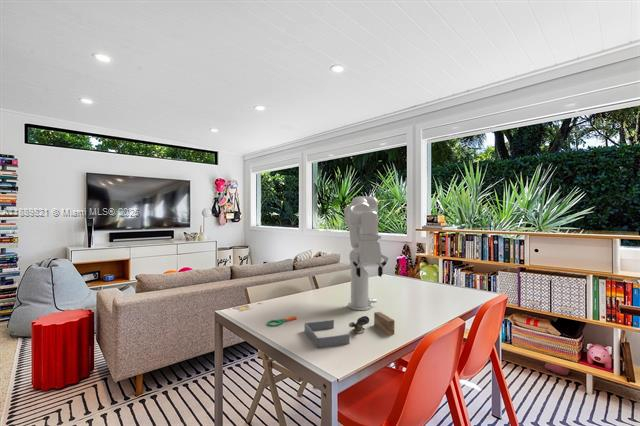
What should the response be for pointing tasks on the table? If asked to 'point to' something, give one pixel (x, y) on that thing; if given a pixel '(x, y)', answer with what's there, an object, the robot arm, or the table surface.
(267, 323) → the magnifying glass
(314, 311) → the table surface
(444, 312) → the table surface
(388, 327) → the brown rectangular block
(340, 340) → the grey bent bar
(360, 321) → the eagle figurine
